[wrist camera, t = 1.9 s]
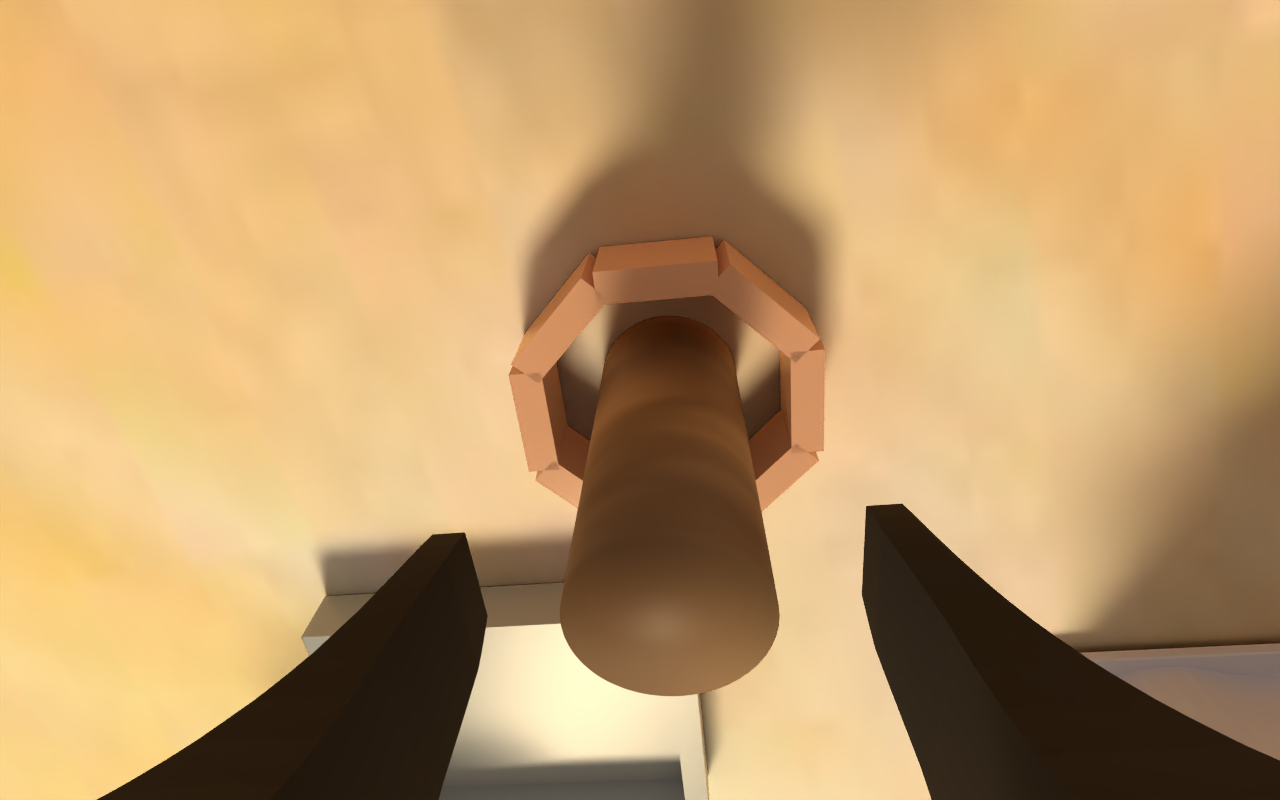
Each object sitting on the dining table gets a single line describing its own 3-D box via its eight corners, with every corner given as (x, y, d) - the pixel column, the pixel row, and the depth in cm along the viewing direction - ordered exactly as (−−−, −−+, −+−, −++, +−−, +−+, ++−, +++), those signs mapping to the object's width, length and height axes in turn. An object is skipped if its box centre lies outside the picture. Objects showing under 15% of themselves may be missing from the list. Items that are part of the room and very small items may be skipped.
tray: (688, 575, 23) (689, 616, 22) (707, 777, 28) (710, 823, 26) (325, 596, 24) (301, 637, 23) (402, 788, 29) (387, 833, 27)
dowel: (732, 310, 19) (777, 526, 11) (738, 429, 21) (781, 691, 13) (594, 322, 19) (543, 540, 11) (612, 438, 21) (576, 700, 13)
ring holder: (810, 227, 18) (826, 250, 16) (810, 483, 21) (822, 526, 20) (506, 255, 18) (488, 281, 17) (554, 501, 22) (544, 543, 20)
